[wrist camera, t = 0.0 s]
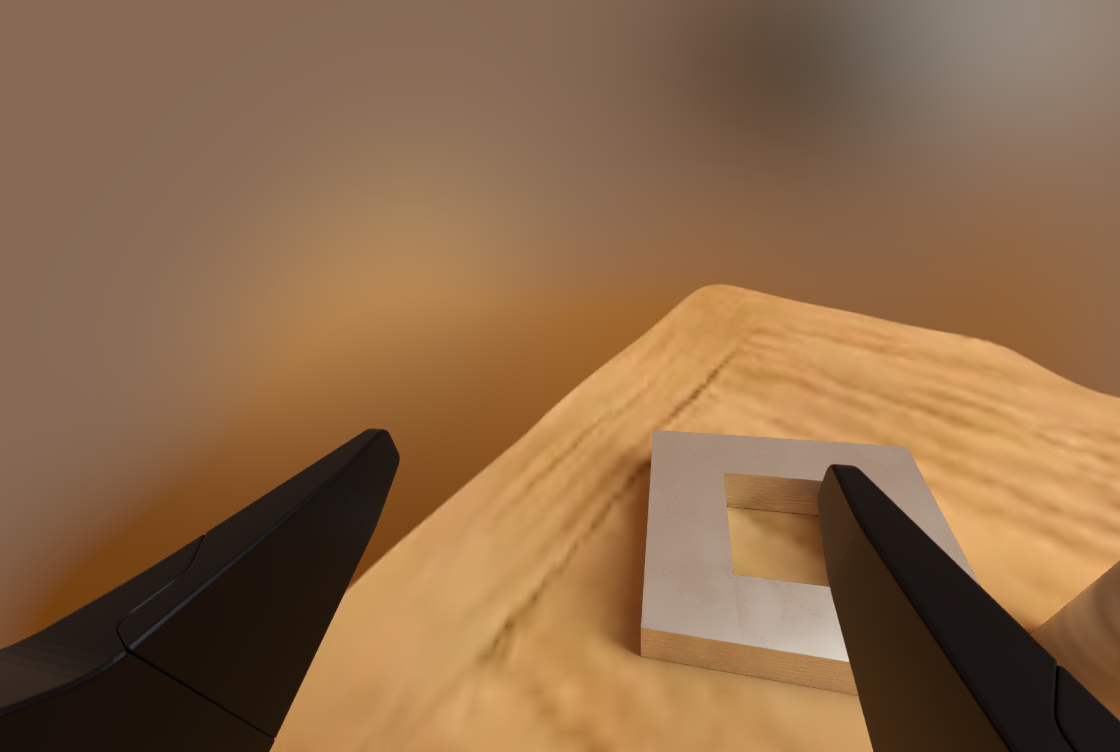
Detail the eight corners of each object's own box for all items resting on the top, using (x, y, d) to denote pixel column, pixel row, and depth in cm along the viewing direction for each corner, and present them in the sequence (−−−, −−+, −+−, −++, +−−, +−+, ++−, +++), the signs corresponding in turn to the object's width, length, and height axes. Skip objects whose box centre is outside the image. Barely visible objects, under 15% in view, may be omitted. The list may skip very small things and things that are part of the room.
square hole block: (996, 719, 18) (1037, 693, 16) (640, 656, 21) (640, 627, 19) (889, 481, 27) (907, 447, 25) (652, 461, 30) (653, 429, 28)
